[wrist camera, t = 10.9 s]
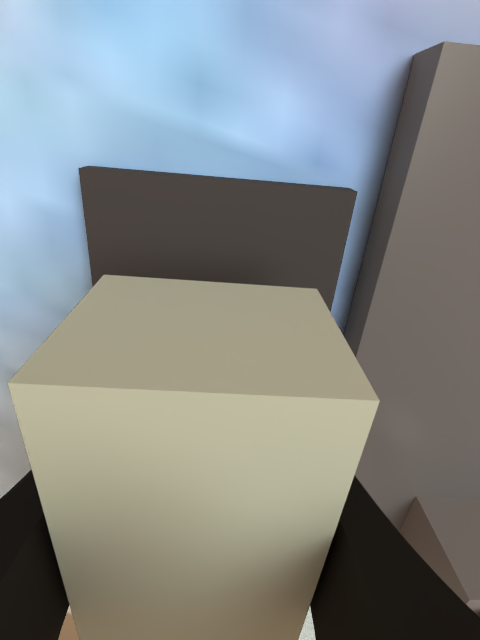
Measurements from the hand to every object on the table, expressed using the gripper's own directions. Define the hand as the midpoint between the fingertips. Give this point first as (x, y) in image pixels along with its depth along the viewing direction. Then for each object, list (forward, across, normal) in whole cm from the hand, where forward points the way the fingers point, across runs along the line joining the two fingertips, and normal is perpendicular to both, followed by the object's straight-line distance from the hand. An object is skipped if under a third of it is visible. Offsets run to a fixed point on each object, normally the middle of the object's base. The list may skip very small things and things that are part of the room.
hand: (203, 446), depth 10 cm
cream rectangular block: (+1, 0, 0) cm, 1 cm away
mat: (+5, 0, 0) cm, 5 cm away
